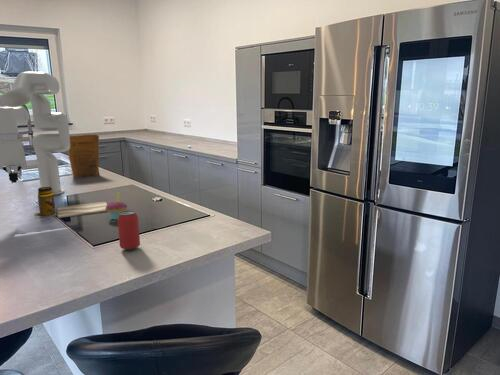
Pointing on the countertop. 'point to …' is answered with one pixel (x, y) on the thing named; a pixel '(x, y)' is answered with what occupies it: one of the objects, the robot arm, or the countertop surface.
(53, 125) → the robot arm
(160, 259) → the countertop surface
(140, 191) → the countertop surface
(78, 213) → the cutting board
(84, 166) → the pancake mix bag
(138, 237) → the beer can
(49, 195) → the condiment
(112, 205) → the cupcake
